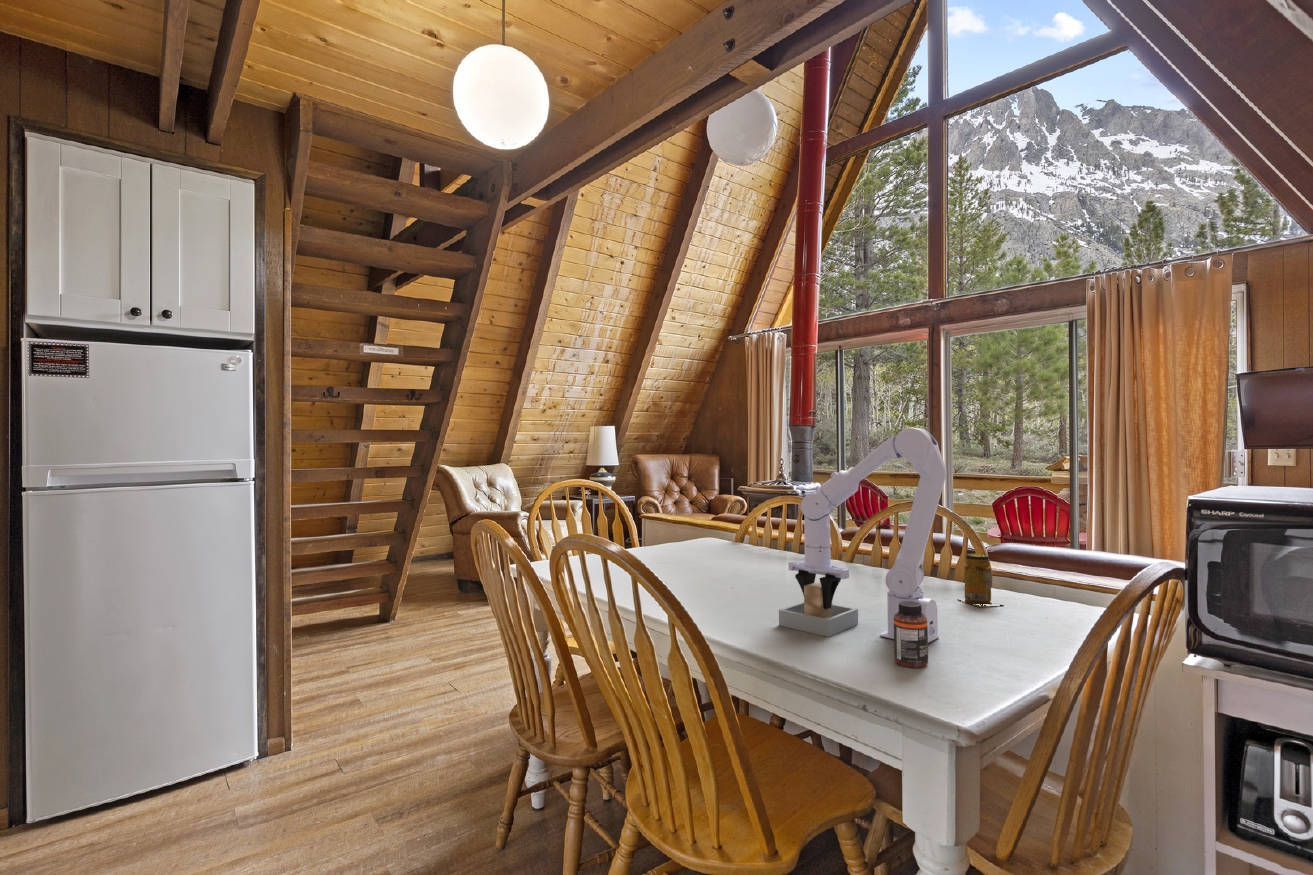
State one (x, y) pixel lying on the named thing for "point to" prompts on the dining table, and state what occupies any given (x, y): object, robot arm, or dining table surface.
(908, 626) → the supplement bottle
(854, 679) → the dining table surface
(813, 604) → the carton
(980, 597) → the condiment
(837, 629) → the tray
